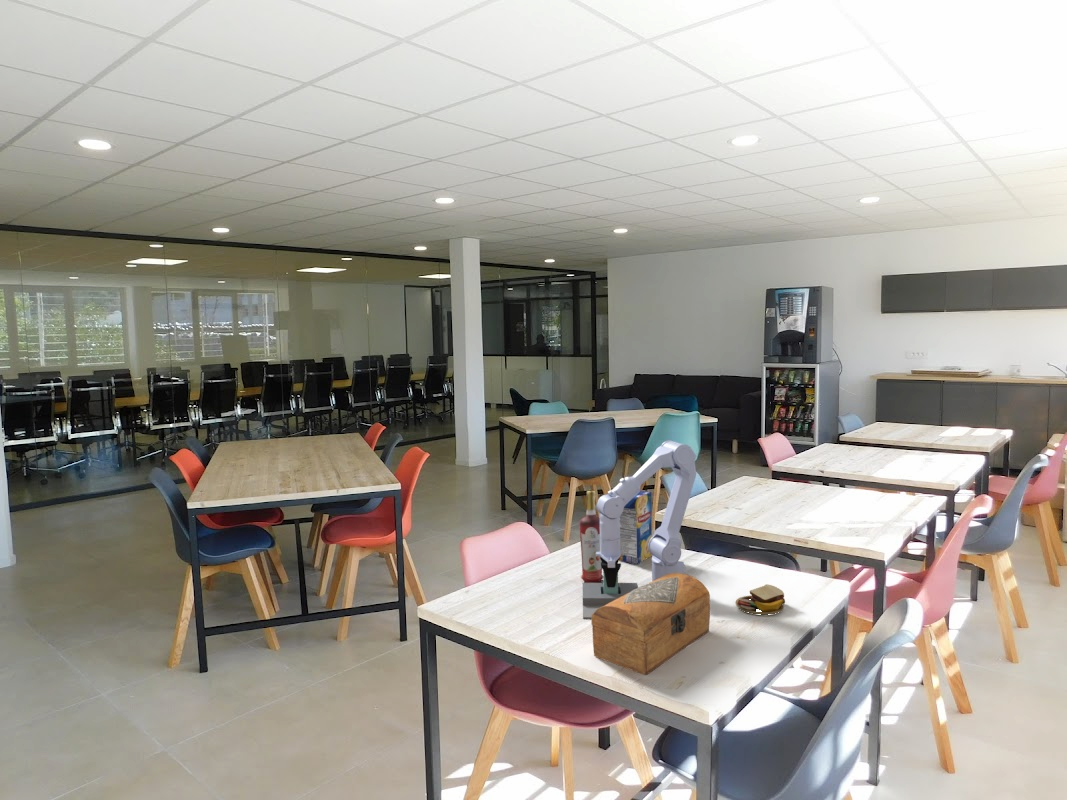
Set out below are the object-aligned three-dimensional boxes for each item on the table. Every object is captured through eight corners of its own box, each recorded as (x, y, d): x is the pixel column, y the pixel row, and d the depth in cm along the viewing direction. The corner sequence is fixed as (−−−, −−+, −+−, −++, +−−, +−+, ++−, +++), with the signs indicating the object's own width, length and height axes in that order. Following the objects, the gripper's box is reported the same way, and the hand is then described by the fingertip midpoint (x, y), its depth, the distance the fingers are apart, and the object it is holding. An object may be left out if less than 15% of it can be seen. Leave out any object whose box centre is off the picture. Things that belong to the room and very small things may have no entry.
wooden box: (648, 678, 151) (648, 617, 150) (590, 655, 163) (589, 599, 161) (716, 633, 173) (716, 580, 172) (660, 616, 184) (659, 566, 183)
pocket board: (637, 591, 202) (637, 582, 202) (640, 607, 190) (640, 598, 190) (582, 590, 203) (582, 582, 203) (582, 606, 191) (582, 598, 191)
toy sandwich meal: (727, 602, 193) (727, 585, 193) (770, 597, 196) (770, 581, 195) (749, 619, 181) (750, 602, 180) (796, 614, 184) (796, 597, 183)
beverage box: (618, 561, 229) (618, 496, 227) (633, 552, 238) (633, 489, 236) (637, 564, 225) (636, 498, 223) (652, 555, 234) (651, 492, 232)
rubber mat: (611, 606, 191) (611, 605, 191) (613, 618, 183) (613, 617, 183) (582, 606, 191) (582, 605, 191) (583, 618, 183) (582, 617, 183)
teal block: (617, 592, 198) (617, 565, 198) (618, 597, 195) (617, 570, 194) (603, 592, 199) (603, 565, 198) (604, 597, 195) (603, 570, 194)
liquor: (604, 577, 214) (603, 489, 212) (604, 585, 207) (603, 494, 204) (580, 577, 215) (579, 489, 212) (579, 585, 208) (578, 494, 205)
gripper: (595, 530, 203) (596, 575, 204) (596, 545, 188) (597, 593, 189) (619, 530, 202) (619, 575, 203) (622, 545, 188) (623, 593, 189)
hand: (610, 584), depth 196 cm, fingers closed on teal block, 4 cm apart
